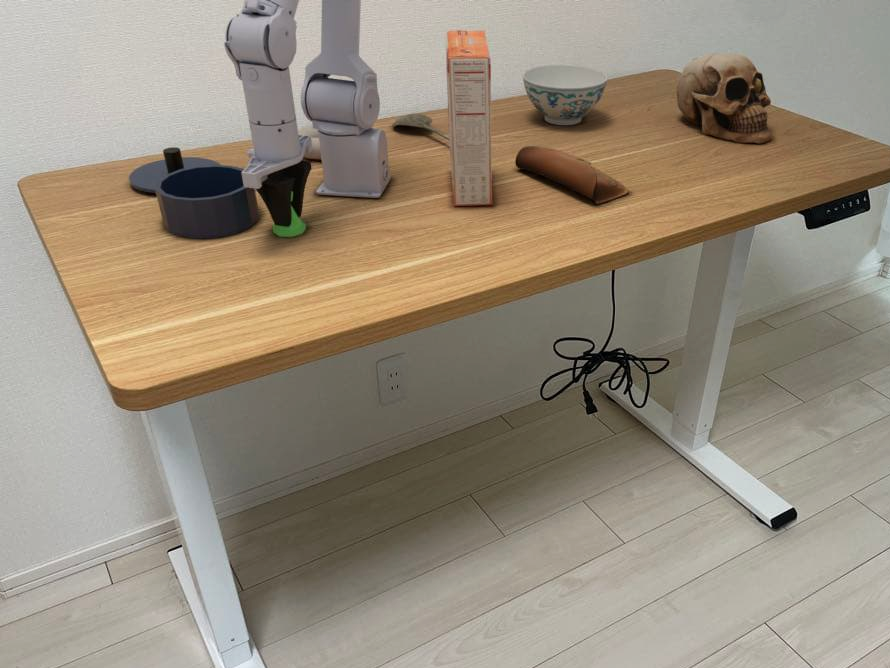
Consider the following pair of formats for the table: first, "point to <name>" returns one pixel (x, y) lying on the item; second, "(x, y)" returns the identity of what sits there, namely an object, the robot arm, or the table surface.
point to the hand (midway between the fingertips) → (288, 220)
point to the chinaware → (564, 91)
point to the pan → (206, 202)
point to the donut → (315, 142)
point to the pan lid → (164, 169)
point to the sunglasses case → (570, 173)
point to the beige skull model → (725, 97)
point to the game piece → (294, 229)
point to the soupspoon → (418, 123)
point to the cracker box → (469, 116)
